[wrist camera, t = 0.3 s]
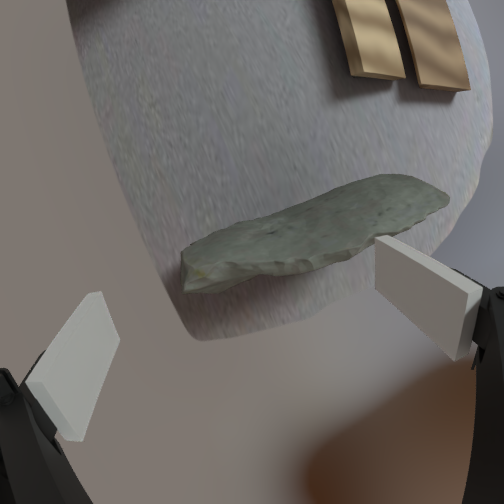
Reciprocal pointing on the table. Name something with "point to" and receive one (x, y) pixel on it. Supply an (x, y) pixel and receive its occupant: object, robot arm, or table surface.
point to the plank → (369, 39)
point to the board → (434, 45)
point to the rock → (309, 233)
